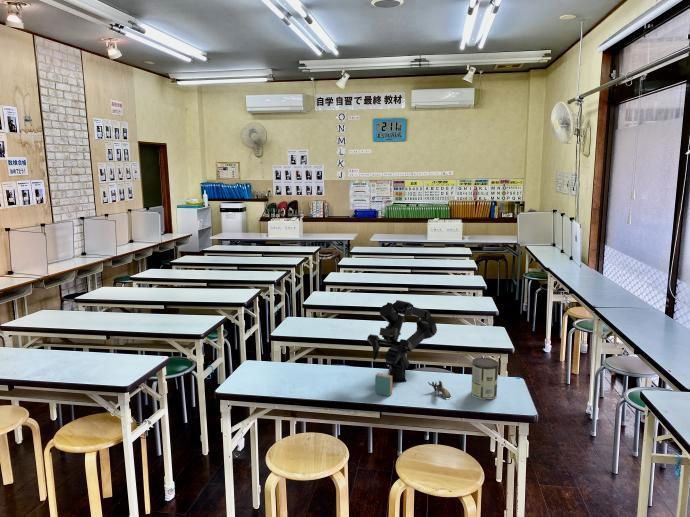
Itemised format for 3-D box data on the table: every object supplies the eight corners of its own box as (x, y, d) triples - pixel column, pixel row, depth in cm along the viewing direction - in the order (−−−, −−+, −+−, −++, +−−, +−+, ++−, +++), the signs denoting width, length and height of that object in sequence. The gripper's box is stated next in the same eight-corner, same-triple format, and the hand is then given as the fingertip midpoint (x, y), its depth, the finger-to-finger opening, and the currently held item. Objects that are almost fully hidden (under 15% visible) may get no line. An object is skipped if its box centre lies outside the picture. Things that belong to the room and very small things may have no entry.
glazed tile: (377, 391, 212) (377, 373, 211) (392, 394, 209) (392, 375, 208) (375, 393, 210) (375, 375, 209) (389, 396, 207) (390, 378, 206)
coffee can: (482, 387, 216) (484, 355, 214) (502, 396, 207) (504, 363, 205) (465, 393, 210) (466, 360, 208) (484, 402, 202) (486, 368, 200)
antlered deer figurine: (424, 391, 210) (438, 395, 202) (430, 374, 211) (444, 378, 204) (437, 397, 213) (451, 402, 205) (443, 381, 215) (457, 385, 207)
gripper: (368, 316, 216) (357, 350, 209) (409, 322, 206) (399, 357, 200) (377, 327, 224) (366, 360, 217) (416, 333, 215) (407, 368, 208)
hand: (384, 361), depth 210 cm, fingers open, 9 cm apart
